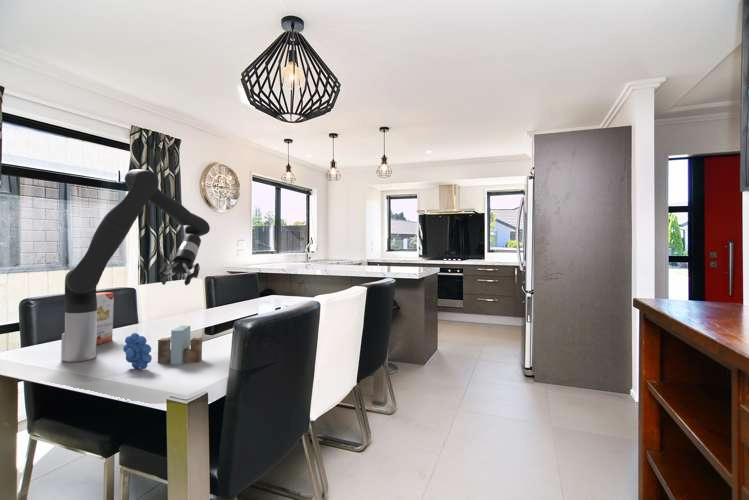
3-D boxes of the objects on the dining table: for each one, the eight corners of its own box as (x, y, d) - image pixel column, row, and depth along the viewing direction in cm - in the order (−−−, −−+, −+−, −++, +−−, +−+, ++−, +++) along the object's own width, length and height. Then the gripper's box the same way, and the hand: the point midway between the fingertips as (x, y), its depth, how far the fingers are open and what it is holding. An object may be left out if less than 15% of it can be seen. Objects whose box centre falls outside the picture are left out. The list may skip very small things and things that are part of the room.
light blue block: (170, 364, 134) (171, 330, 134) (179, 357, 143) (180, 325, 143) (181, 364, 135) (181, 330, 135) (189, 357, 143) (190, 325, 143)
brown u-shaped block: (157, 362, 136) (158, 340, 136) (161, 360, 139) (161, 338, 139) (199, 362, 138) (199, 340, 138) (201, 359, 141) (202, 338, 141)
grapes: (111, 370, 127) (112, 334, 127) (130, 364, 133) (131, 330, 133) (138, 374, 123) (139, 337, 123) (156, 368, 130) (157, 333, 130)
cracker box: (83, 348, 152) (84, 296, 152) (70, 347, 154) (71, 295, 154) (113, 340, 166) (114, 292, 166) (102, 339, 167) (103, 291, 167)
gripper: (166, 247, 160) (152, 276, 148) (202, 249, 161) (191, 278, 150) (171, 260, 165) (158, 289, 153) (205, 261, 167) (195, 290, 155)
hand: (174, 283), depth 152 cm, fingers open, 8 cm apart
